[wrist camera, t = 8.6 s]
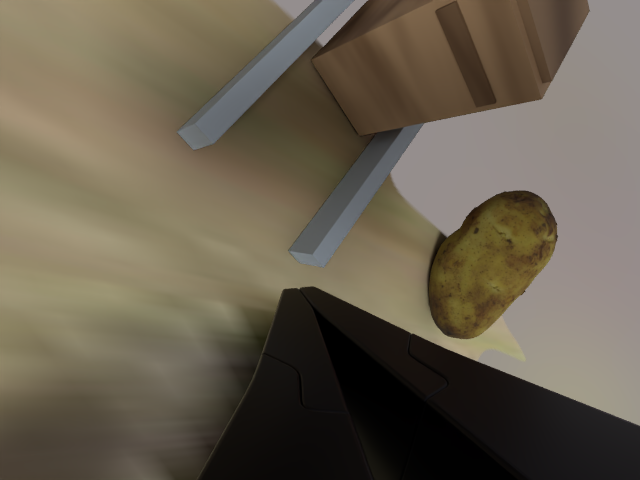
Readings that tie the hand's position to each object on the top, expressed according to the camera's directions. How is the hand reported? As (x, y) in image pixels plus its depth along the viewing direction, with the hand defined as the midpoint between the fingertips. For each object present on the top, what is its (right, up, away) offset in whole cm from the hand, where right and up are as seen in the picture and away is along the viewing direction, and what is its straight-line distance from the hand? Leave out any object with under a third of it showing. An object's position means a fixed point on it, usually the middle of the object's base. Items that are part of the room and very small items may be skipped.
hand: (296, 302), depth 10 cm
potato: (+12, 0, +26) cm, 28 cm away
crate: (+4, +14, +17) cm, 22 cm away
